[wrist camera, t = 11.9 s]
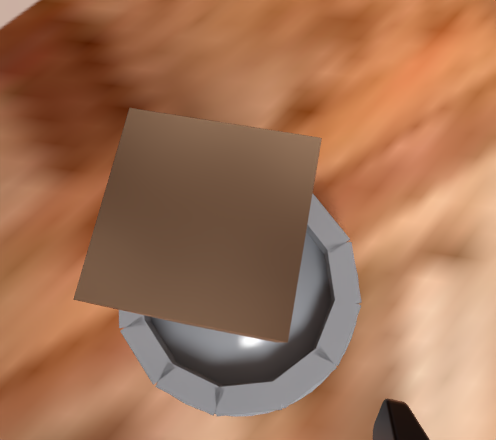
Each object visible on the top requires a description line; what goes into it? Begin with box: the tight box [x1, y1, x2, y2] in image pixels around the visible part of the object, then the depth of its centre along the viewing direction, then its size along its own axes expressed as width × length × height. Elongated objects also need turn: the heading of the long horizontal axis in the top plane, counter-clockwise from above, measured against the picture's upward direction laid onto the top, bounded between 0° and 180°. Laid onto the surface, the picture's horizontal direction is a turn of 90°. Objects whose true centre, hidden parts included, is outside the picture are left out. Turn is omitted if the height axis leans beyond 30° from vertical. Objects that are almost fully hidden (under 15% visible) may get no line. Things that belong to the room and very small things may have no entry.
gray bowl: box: [119, 194, 361, 416], centre depth 22 cm, size 12×12×2 cm
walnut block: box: [73, 108, 322, 342], centre depth 16 cm, size 5×5×13 cm
